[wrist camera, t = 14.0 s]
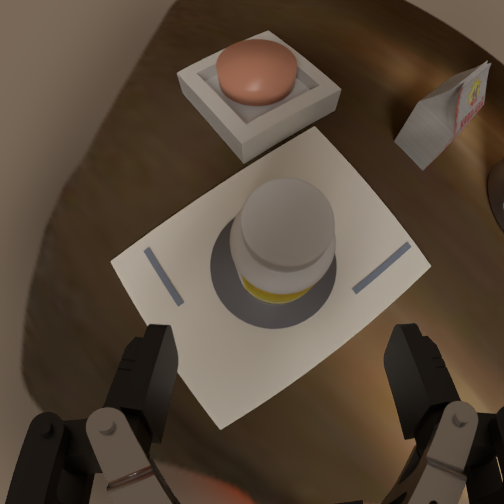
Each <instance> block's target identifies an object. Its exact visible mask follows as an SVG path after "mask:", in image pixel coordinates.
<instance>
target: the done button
mask: <svg viewBox="0 0 504 504" xmlns="http://www.w3.org/2000/svg"><path fill="white" fill-rule="evenodd" d="M216 69H217V75H218V81H219V86H220V89H221V91H222V92H223V93H224V95H225V96H227V97H228V98H229V99H231V100H232V101H234V102H237V103H239V104H243V105H248V106H265V105H270V104H274V103H277V102H279V101H281V100H283V99H284V98H286V97H287V96H288V95H289V94H290V93H291V92H292V90H293V88H294V86H295V80H296V72H297V60H296V58H295V56H294V54H293V53H292V52H291V51H290V50H289V49H288V48H287V47H285V46H283V45H282V44H279V43H277V42H274V41H270V40H264V39H251V40H244V41H240V42H237V43H235V44H233V45H231V46H229V47H227V48H226V49H225V50H223V51H222V53H221V54H220V55H219V57H218V59H217V62H216Z"/></svg>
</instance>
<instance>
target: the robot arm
mask: <svg viewBox="0 0 504 504" xmlns="http://www.w3.org/2000/svg"><path fill="white" fill-rule="evenodd" d="M488 195H489V200H490V204H491V207H492V210H493V213H494V215H495V217H496V220H497V221H498V223H499V225H500V227H501V228H502V230H503V231H504V158H503V159H502V160H501V161H500V162H499V163H497V164H496V165H495V166H494V167H493V168H492V169H491V172H490V174H489V178H488ZM445 366H446V365H445V362H444V360H443V358H442V356H441V354H440V351H439V349H438V347H437V345H436V344H435V343H434V342H433V341H432V340H431V339H430V338H429V337H428V336H422V334H421V332H420V330H419V328H418V326H417V324H415V323H411V324H397V325H395V327H394V329H393V332H392V334H391V337H390V340H389V342H388V345H387V348H386V350H385V353H384V368H385V371H386V374H387V378H388V381H389V384H390V388H391V391H392V395H393V398H394V402H395V405H396V409H397V413H398V416H399V420H400V424H401V428H402V431H403V435H404V439H405V440H407V439H412V438H415V440H416V445H415V446H414V448H413V450H412V452H411V454H410V456H409V458H408V460H407V462H406V464H405V466H404V468H403V470H402V472H401V474H400V476H399V478H398V480H397V482H396V483H395V485H394V487H393V488H392V490H391V491H390V492H389V493H388V495H387V496H386V497H385V499H384V500H383V501H382V503H381V504H458V502H459V499H460V497H461V494H462V492H463V489H464V487H465V484H466V487H467V492H468V498H469V504H504V407H502V408H501V409H500V410H499V411H498V412H497V413H496V414H490V413H478V412H476V411H475V409H474V408H473V407H472V406H471V405H470V404H468V403H466V402H463V401H461V400H460V397H459V395H458V393H457V390H456V388H455V385H454V383H453V381H452V378H451V376H450V374H449V371H448V369H447V367H445ZM177 370H178V351H177V347H176V343H175V339H174V335H173V331H172V328H171V326H170V325H162V324H149V325H148V327H147V329H146V332H145V335H144V337H143V338H141V337H135V338H134V339H133V340H132V341H131V342H130V343H129V344H128V346H127V347H126V349H125V351H124V354H123V356H122V361H120V364H119V366H118V370H117V372H116V374H115V377H114V379H113V382H112V385H111V387H110V390H109V393H108V396H107V398H106V401H105V404H104V406H103V407H102V408H101V409H98V410H96V411H95V412H93V413H92V414H91V415H90V417H89V418H87V419H81V420H68V421H62V419H61V418H60V417H59V416H58V415H56V414H55V413H52V412H44V413H41V414H39V415H37V416H36V417H35V418H34V419H33V420H32V422H31V424H30V426H29V429H28V431H27V434H26V437H25V440H24V443H23V446H22V448H21V451H20V455H19V458H18V461H17V464H16V467H15V470H14V473H13V477H12V480H11V484H10V487H9V491H8V495H7V498H6V502H5V504H89V500H90V495H91V489H92V485H93V480H94V475H95V473H103V474H104V476H105V478H106V481H107V483H108V487H107V492H108V495H109V498H110V500H111V502H112V504H181V503H180V502H179V501H178V499H177V498H176V497H175V496H174V494H173V492H172V491H171V489H170V487H169V486H168V485H167V483H166V481H165V479H164V478H163V476H162V475H161V473H160V471H159V470H158V468H157V466H156V464H155V463H154V461H153V459H152V457H151V456H150V454H149V451H150V446H151V443H157V444H161V441H162V436H163V432H164V427H165V422H166V418H167V413H168V409H169V404H170V400H171V396H172V391H173V387H174V383H175V378H176V374H177ZM496 457H497V458H498V461H499V465H500V469H501V473H502V477H503V483H502V478H501V474H500V470H499V466H498V462H497V459H496ZM337 504H363V500H360V501H353V502H345V503H337Z"/></svg>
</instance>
